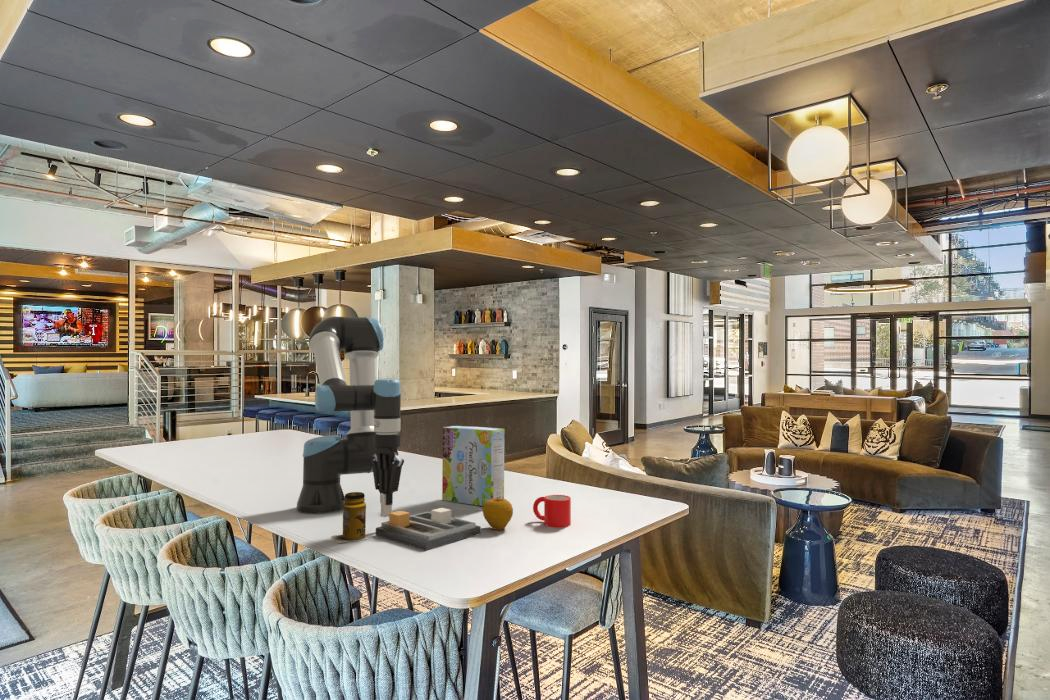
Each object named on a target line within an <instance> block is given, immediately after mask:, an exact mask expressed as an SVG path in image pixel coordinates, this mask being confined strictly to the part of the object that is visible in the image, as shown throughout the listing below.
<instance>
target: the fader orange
mask: <svg viewBox="0 0 1050 700" xmlns="http://www.w3.org/2000/svg"><path fill="white" fill-rule="evenodd" d="M410 516H411V514H410V512H407V511H404V510H398V511H394V512H393V511H392V513H389V516H388V521H389V523H390V524H393V525H397V526H400V527H406V526H410Z"/></svg>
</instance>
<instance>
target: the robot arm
mask: <svg viewBox="0 0 1050 700" xmlns="http://www.w3.org/2000/svg"><path fill="white" fill-rule="evenodd" d="M384 338H385V337H384V332H383V327H382V324H381V322H380V321H379V320H378V319H377V318H374V317H373V318H372V317H366V316H363V317H361V316H359V317H357V316H354V317H352V316H330V317H326V318H325V319H323V320H321V321H319V322H318V323H317V324H316V325H315V326H314V327H313V329H312V330H311V332H310V333H309V337H308V343H309V344H308V345H309V348H310V350H311V352H312V353H313V354H314V360H315V364H316V369H317V370H316V371H317V375H318V381H319V385H318V386H317V387H316V388H315V392H314V402H315V403H314V405H315V409H316V410H317V411H318V412H329V413H332V412H350V430H348V431H347V432H346V433H345V434H346V438H345V439H343V438H342V437H341V435H339V434H333V435H331V434H328V435H323V436H322V435H321V436H318V437H313V438H311V439H308V440H307V441H305V442H304V445H303V454H302V457H303V465H302V466H303V467H302V473H303V474H302V488H301V490H300V492H299V496H298V499H297V502H296V511H297V512H299V513H302V514H326V513H334V512H338V511H341V510H343V505H344V503H345V502H344V500H345V495H344V491H343V488H342V485H341V476H343V475H354V474H355V475H356V474H357V475H358V474H371V473H372V474H373V481H374V488H375V490H377V491H378V492H379V493H380V495H379V498H380V499H379V500H380V501H379V502H380V517H382V518H387V517H389V513H392V512H393V504H394V503H393V499H394V497H393V494H394V493H395V492H398V491H399V486H400V479H401V474H402V468H403V465H404V463H405V459H404V458H400V457H399V451H398V447H400V446H401V434H400V431H401V424H402V423H401V421H402V419H401V406H402V405H401V403H402V402H401V398H402V397H401V395H402V389H401V381H400V380H399V379H394V378H392V379H389V378H388V379H387V378H386V379H385V378H383V379H380V378H379V379H376V367H375V360H376V359H377V357H378V356H379V355H380V352H381V351H382V350H383V348H384ZM339 351H344V357H345V358H346V359H347V360H348V362H349V363H348V364H349V385H348V384H347V381H346V377H345V371H344V368H343V365H342V360H341V355H340V352H339Z"/></svg>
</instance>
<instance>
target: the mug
mask: <svg viewBox="0 0 1050 700" xmlns="http://www.w3.org/2000/svg"><path fill="white" fill-rule="evenodd" d="M571 500H572V499H571V497H570V496H569V495H564V494H549V495H545V496H540V497H537V498H536V499H535V501H534V502H533V505H532V510H533V514H534V516H535V517H536V518H537V519H539V520H540V521H543V522H544V526H546V527H549V528H555V529H556V528H557V529H558V528H568V527H570V526H571V522H572V519H571V516H572V515H571V513H572V511H571V508H572V507H571V506H572V503H571V502H572V501H571ZM542 502H543V504H544V506H543V507H544V511H543V513H544V514H541V513H540V512H539V508H538V507H539V504H540V503H542Z"/></svg>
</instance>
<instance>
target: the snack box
mask: <svg viewBox="0 0 1050 700" xmlns="http://www.w3.org/2000/svg"><path fill="white" fill-rule="evenodd" d="M505 430H506V429H505V428H498V427H486V426H485V427H484V426H465V425H464V426H463V425H451V426H443V427H442V474H441V475H442V480H441V481H442V482H441V483H442V485H441V487H442V492H441V494H442V495H441V499H442V501H444V502H453V503H458V504H459V503H460V504H464V505H465V504H467V505H473V506H481V507H484V504H485V503H486V502H487V501H488V500H490V499H493V498H501V499H505V433H506V431H505Z"/></svg>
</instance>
